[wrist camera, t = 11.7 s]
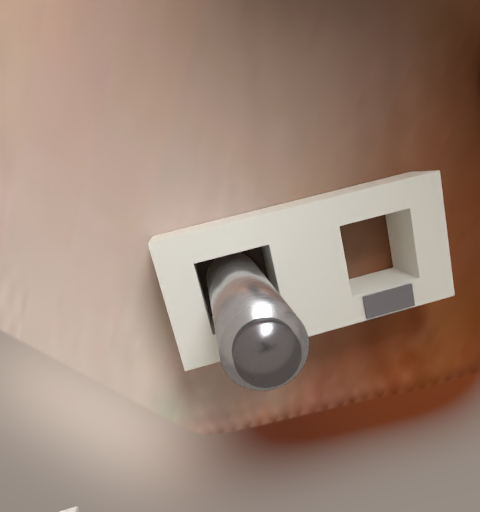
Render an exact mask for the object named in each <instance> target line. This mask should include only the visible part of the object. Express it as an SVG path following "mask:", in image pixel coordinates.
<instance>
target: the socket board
mask: <svg viewBox="0 0 480 512" xmlns="http://www.w3.org/2000/svg"><path fill="white" fill-rule="evenodd" d="M381 215H385V217H386V224H387V230H388V237H389V243H390V250H391V256H392V263H393V267H392V268H389V269H385V270H381V271H378V272H374V273H370V274H367V275H363V276H359V277H356V278H352V279H349V277H348V271H347V266H346V260H345V255H344V249H343V244H342V238H341V232H340V227H339V226H342V225H346V224H350V223H354V222H358V221H362V220H366V219H369V218H373V217H377V216H381ZM148 246H149V250H150V253H151V257H152V260H153V263H154V267H155V270H156V274H157V277H158V281H159V284H160V288H161V291H162V294H163V298H164V301H165V305H166V308H167V312H168V315H169V318H170V322H171V325H172V329H173V332H174V336H175V339H176V343H177V346H178V349H179V353H180V356H181V360H182V363H183V367H184V370H185V371H188V370H192V369H195V368H199V367H202V366H206V365H210V364H213V363H217V362H220V356H219V350H218V344H217V339H216V333H215V327H214V321H213V316H211V317H210V316H209V312H208V308H207V305H206V301H205V297H204V293H203V290H202V286H201V282H200V278H199V275H198V271H197V267H196V263H199V262H203V261H207V260H210V259H214V258H218V257H222V256H226V255H230V254H234V253H238V252H241V251H245V250H249V249H253V248H257V247H262V252H263V256H264V261H265V265H266V269H267V274H268V278H269V282H270V283H271V284H272V285H273V287H274V288H275V289H276V290H277V292H278V293H279V294H280V295H281V297H282V298H283V299H284V300H285V302H286V303H287V304H288V305H289V307H290V308H291V309H292V310H293V312H294V313H295V314H296V315H297V317H298V318H299V319H300V320H301V322H302V323H303V325H304V326H305V329H306V331H307V334H308V337H309V336H313V335H316V334H320V333H323V332H327V331H331V330H334V329H338V328H341V327H345V326H348V325H352V324H355V323H359V322H363V321H364V322H365V321H368V320H372V319H376V318H379V317H383V316H386V315H390V314H393V313H397V312H400V311H404V310H408V309H411V308H412V307H416V306H419V305H423V304H427V303H430V302H434V301H437V300H441V299H444V298H448V297H452V296H455V293H454V285H453V276H452V268H451V260H450V251H449V243H448V234H447V226H446V218H445V209H444V201H443V192H442V184H441V176H440V170H436V171H415V172H407V173H403V174H399V175H395V176H391V177H387V178H383V179H379V180H375V181H371V182H367V183H363V184H359V185H355V186H351V187H347V188H343V189H339V190H335V191H331V192H327V193H323V194H319V195H315V196H311V197H307V198H303V199H299V200H295V201H291V202H287V203H283V204H279V205H275V206H271V207H267V208H263V209H259V210H255V211H251V212H247V213H243V214H239V215H235V216H231V217H227V218H223V219H219V220H214V221H210V222H206V223H202V224H198V225H194V226H190V227H186V228H182V229H178V230H174V231H170V232H166V233H162V234H158V235H154V236H152V238H151V239H150V241H149V242H148Z"/></svg>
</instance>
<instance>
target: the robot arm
mask: <svg viewBox="0 0 480 512" xmlns="http://www.w3.org/2000/svg"><path fill="white" fill-rule="evenodd" d="M60 512H80V511H79V509H78V507H73V508H70V509H67V510H63V511H60Z"/></svg>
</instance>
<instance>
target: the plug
mask: <svg viewBox="0 0 480 512" xmlns="http://www.w3.org/2000/svg"><path fill="white" fill-rule="evenodd" d="M207 286H208V292H209V298H210V304H211V309H212V315H213V321H214V327H215V333H216V339H217V344H218V350H219V356H220V361H221V364H222V367H223V369H224V371H225V372H226V374H227V375H228V376H229V377H230V378H231V379H232V380H233V381H234V382H235V383H237V384H238V385H240V386H242V387H244V388H247V389H251V390H257V391H265V390H271V389H275V388H278V387H281V386H283V385H285V384H286V383H288V382H289V381H291V380H292V379H293V378H294V377H295V376H296V375H297V374H298V373H299V372H300V370H301V369H302V367H303V366H304V364H305V362H306V359H307V356H308V351H309V338H308V334H307V331H306V329H305V326H304V325H303V323H302V322H301V320H300V319H299V318H298V317H297V315H296V314H295V313H294V312H293V310H292V309H291V308H290V307H289V305H288V304H287V303H286V302H285V300H284V299H283V298H282V297H281V295H280V294H279V293H278V292H277V290H276V289H275V288H274V287H273V285H272V284H271V283H270V282H269V280H268V279H267V278H266V277H265V275H264V274H263V273H262V272H261V270H260V269H259V268H258V267H257V265H256V264H255V263H254V262H253V260H252V259H251V258H249V257H248V256H246V255H244V254H242V253H234V254H230V255H226V256H222V257H218V258H216V259H215V260H214V261H213V262H212V263H211V265H210V267H209V269H208V272H207Z"/></svg>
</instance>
